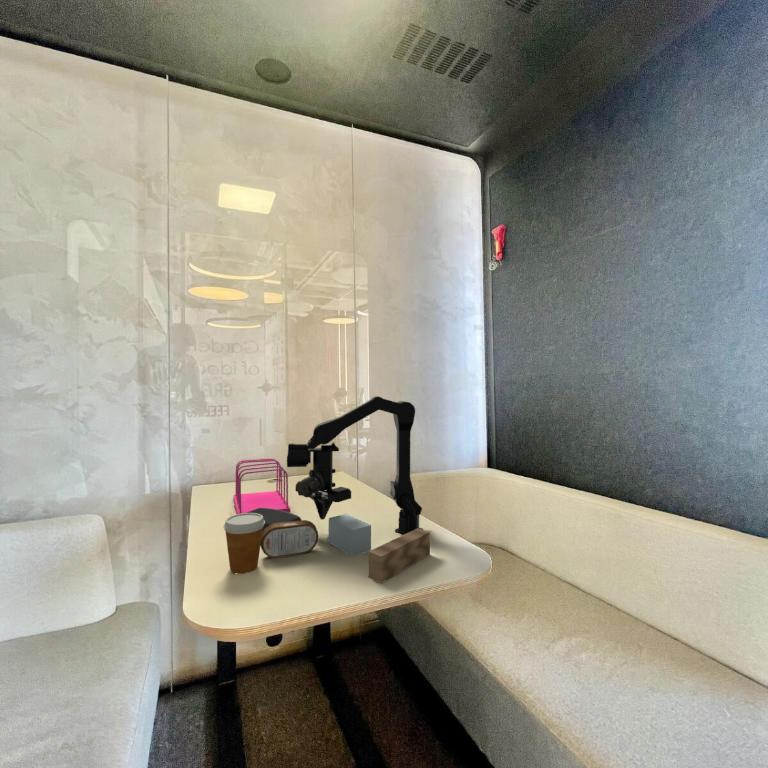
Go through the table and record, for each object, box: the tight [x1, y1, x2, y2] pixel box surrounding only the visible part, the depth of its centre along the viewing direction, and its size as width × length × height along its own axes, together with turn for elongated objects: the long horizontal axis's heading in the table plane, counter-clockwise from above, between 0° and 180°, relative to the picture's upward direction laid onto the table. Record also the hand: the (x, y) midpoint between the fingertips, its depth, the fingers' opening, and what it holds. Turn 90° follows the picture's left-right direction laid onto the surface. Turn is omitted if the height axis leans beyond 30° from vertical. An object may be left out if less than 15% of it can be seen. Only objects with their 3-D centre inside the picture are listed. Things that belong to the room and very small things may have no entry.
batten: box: [367, 527, 431, 584], centre depth 98 cm, size 20×4×6 cm, turn 140°
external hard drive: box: [247, 508, 302, 532], centre depth 124 cm, size 13×19×4 cm
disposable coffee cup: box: [222, 513, 265, 575], centre depth 96 cm, size 10×10×12 cm
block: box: [327, 513, 372, 557], centre depth 110 cm, size 6×12×7 cm, turn 39°
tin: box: [260, 519, 319, 559], centre depth 104 cm, size 15×3×8 cm, turn 113°
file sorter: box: [232, 458, 291, 514], centre depth 146 cm, size 17×25×16 cm
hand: (322, 519), depth 117 cm, fingers closed
